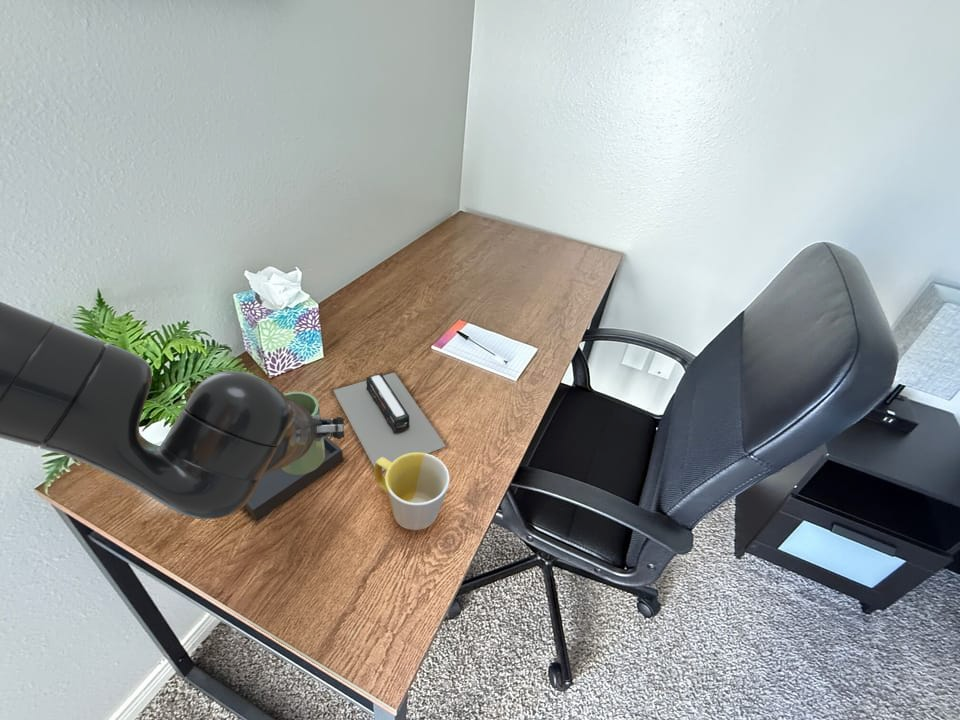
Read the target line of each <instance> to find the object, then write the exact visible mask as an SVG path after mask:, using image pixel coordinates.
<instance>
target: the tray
mask: <svg viewBox="0 0 960 720" xmlns="http://www.w3.org/2000/svg"><path fill="white" fill-rule="evenodd" d="M323 439H324V447H325V458H324V460H323V462H322V464H321V465H320V466H319V467H318V468H317V469H315V470H313V471H311V472H309V473H306V474H301V475H294V474H289V473H287V472H285V471H283V470H282V469H281V468H280V469H277V470H273V471H270V472H268V473H266V474H263V476H262V478H261V480H260V482H259V483H258V485H257V487H256V489H255V491H254V493H253V494H252V496H251V498H250V499H249V501H248V502H247V503H246V505H245V506H244V507H243V508H244V509H245V510H246V511H247V513H249V514H250V517H252V518H253V519H254V520H255V521H256V522H258V521H259V520H260V519H262V518H263V517H265V516H266V515H267V514H269V513H270V512H271V511H273V510H275V509H276V508H277V507H279V506H280V505H282V504H283V503H285V502H286V501H288V500H289V499H290V498H292V497H293V496H294V495H296V494H297V493H299V492H300V491H302V490H303V489H304V488H306V487H307V486H309V485H310V484H312V483H313V482H315V481H316V480H317V479H319V478H321V477H322V476H323V475H325V474H326V473H328V472H330V471H331V470H332V469H333V468H335V467H336V466H337V465H340V463H342V462H343V461H344V455H343V449H342V448H341V447H339V446H338V445H337V444H336V443H335V442H334V441H333V440H331V438H329V437H327V438H324V437H323Z"/></svg>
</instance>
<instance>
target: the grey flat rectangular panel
mask: <svg viewBox="0 0 960 720" xmlns="http://www.w3.org/2000/svg"><path fill="white" fill-rule="evenodd" d="M332 391H333V393H334V395H335V398H336V399H337V401H338V402H339V405H340V406H341V408H342V410H343V412H344V413H345V416H346V417H347V419H348V421H349V423H350V425H351V427H352V429H353V431H354V433H355V434H356V436H357V438H358V440H359V442H360V443H361V446H362V447H363V449H364V451H365V453H366V456H367V457H368V459H369V460H370V462H371V464H372V466H373V468H374V469H375V463H376V461H377V460H378V459H379V458H381V457H384V458H386V459H387V460H389V461H390V462H393V461H394V460H395V459H397V458H398V457H400V456H402V455H405V454H408V453H415V452H420V453H427V454H430V453H432V452H435V451H437V450H440V449H443V448H445V447H447V446H446V444H445V443H444V441H443V440H442V438H441V437H440V435H439V434H438V433H437V431H436V430H435V428H434V427H433V425H432V424H431V422H430V421H429V419H428V418H427V417H426V415H425V414H424V412H423V411H422V410H421V408H420V407H419V405H418V404H417V403H416V401H415V400H414V398H413V397H412V396H411V394H410V392H409V391H408V389H407V388H406V386H405V385H404V384H403V382H402V381H401V379H400V378H399V377H398V375H397V373H396V372H391V373H387V374H384V375H383V374H382V371H380V372H379V373H375V374H372V375H369V376H367V377H366V380H364V381H360V382H356V383H354V384H349V385H346V386H343V387H340V388H336V389H333V390H332ZM384 471H386V470H385V469H384V468H382V472H384Z"/></svg>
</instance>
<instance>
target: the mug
mask: <svg viewBox="0 0 960 720" xmlns="http://www.w3.org/2000/svg"><path fill="white" fill-rule="evenodd" d="M382 468H384V469H385V470H384V471H385V476H384V475H383V471H382ZM374 478H375V481H376V484H377V485H378V486H379V487H380V488H381V489H382V490H383V491H384V492H386V493H387V496H388V499H389V504H390V507H391V512H392V516H393V519H394V520H395V522H396V523H397V524H398V525H399V526H400V527H402V528H404V529H407V530H410V531H421V530H425V529H427V528H428V527H430V526H432V524H434V522H435V521H436V520H437V519H438V516H439V513H440V511H441V507H442V505H443V502H444V500H445V498H446V495H447V492H448V489H449V486H450V480H451V479H450V472H449V470H448V467H447V466H446V465H445V463H444V462H443V461H442V460H441V459H440V458H438V457H436V455H435V456H434V455H432V454H430V453H428V454H427V453H420V452H415V453H408V454H405V455H402V456H400V457H398V458H397V459H395V460H394V461H393V462H390V461H389V460H387V459H386V458H384V457H381V458H379V459H378V460H377V461H376V463H375V468H374Z"/></svg>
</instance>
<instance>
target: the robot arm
mask: <svg viewBox="0 0 960 720" xmlns="http://www.w3.org/2000/svg"><path fill="white" fill-rule="evenodd" d="M152 381H153V369H152V367H151V365H150V363H149V362H148V361H147V360H146V359H144V358H142V357H141V356H139V355H137V354H135V353H133V352H131V351H128V350H126V349H124V348H122V347H119V346H116V345H114V344H111V343H109V342H105V341H104V340H102V339H99V338H96V337H95V336H92V335H90V334H87V333H84V332H82V331H79V330H77V329H75V328H72V327H70V326H67V325H65V324H62V323H61V322H58V321H54V320H52V319H50V318H47V317H45V316H42V315H39V314H38V313H35V312H32V311H30V310H27V309H25V308H22V307H19V306H16V305H14V304H12V303H10V302H8V301H5V300H3V299H0V439H2V440H5V441H6V440H7V441H9V442H14V443H16V444H17V443H18V444H21V445H26V446H29V447H33V448H40V449H41V450H44V451H49V452H52V453H55V454H59V455H62V456H65V457H68V458H71V459H73V460H76V461H78V462H81V463H83V464H86V465H88V466H91V467H93V468H95V469H97V470H99V471H101V472H103V473H106V474H108V475H110V476H112V477H113V478H116V479H118V480H120V481H122V482H124V483H126V484H128V485H129V486H131V487H133V488H135V489H136V490H138V491H140V492H142V493H143V494H145V495H146V496H148V497H150V498H152V499H154V500H155V501H157V502H158V503H160V504H162V505H163V506H165V507H167V508H168V509H171V510H172V511H175V512H177V513H178V514H180V515H183V516H185V517H188V518H193V519H197V520H216V519H221V518H225V517H228V516H231V515H233V514H236V513H238V512H239V511H241V509H243V508H244V506H245V505H246V503H247V502H248V501H249V499H250V498H251V496H252V494H253V493H254V491H255V489H256V487H257V485H258V483H259V482H260V480H261V478H262V476H263V474H266V473H268V472H270V471H273V470H277V469H280V468H283V467H285V466H287V465H289V464H291V463H292V462H294V461H296V460H298V459H299V458H301V457H302V456H303V455H304V454H305V453H306V452H307V451H308V450H309V448H310V447H311V445H312V443H313V442H319V441H321V438H322V437H324V438H327V437H328V438H329V437H330V439H337V440H341V439H342V438H345V418H344V417H342V416H336V417H334V418H328V417H322V416H321V414H320V415H314V416H312V415H311V414H310V412H309V411H308V410H307V409H306V408H305V407H304V406H302V405H301V404H299V403H297V402H295V401H291V400H288V399H287V398H286V396H285V395H284V394H285V393H283V392H282V391H281V390H280V389H278V388H277V387H276V386H275V385H273V384H272V383H270V382H269V381H267V380H265V379H263V378H261V377H259V376H258V375H254V374H252V373H248V372H245V371H239V370H224V371H218V372H216V373H214V374H212V375H209V376H208V377H206V378H204V379H203V380H201V382H200V383H199V384H198V385H196V387H195V389H194V390H193V391H192V393H191V394H190V396H189V397H188V399H187V401H186V402H185V403H184V407H183V408H182V409H181V411H180V412H179V414H178V416H177V417H176V419H175V421H174V423H173V424H172V426H171V428H170V430H169V431H168V433H167V434H166V436H165V438H164V440H163V441H162V443H161V444H160V445H157V444H155V443H152V442H151V441H148V440H147V439H146V438H144V436H142V434H141V432H140V423H141V422H140V421H141V417H142V414H143V410H144V408H145V405H146V402H147V399H148V397H149V393H150V390H151V387H152Z"/></svg>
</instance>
